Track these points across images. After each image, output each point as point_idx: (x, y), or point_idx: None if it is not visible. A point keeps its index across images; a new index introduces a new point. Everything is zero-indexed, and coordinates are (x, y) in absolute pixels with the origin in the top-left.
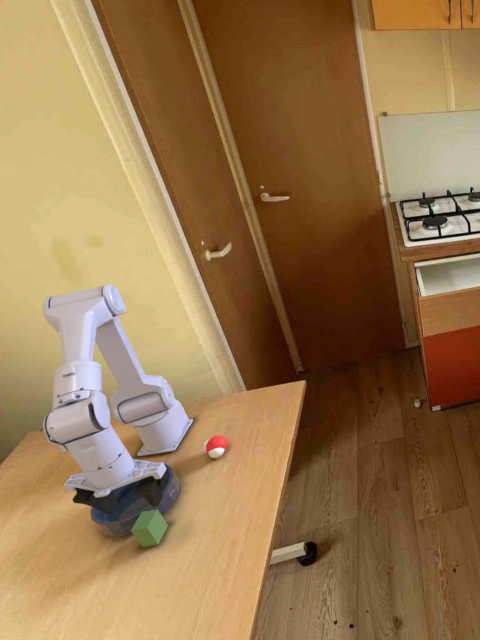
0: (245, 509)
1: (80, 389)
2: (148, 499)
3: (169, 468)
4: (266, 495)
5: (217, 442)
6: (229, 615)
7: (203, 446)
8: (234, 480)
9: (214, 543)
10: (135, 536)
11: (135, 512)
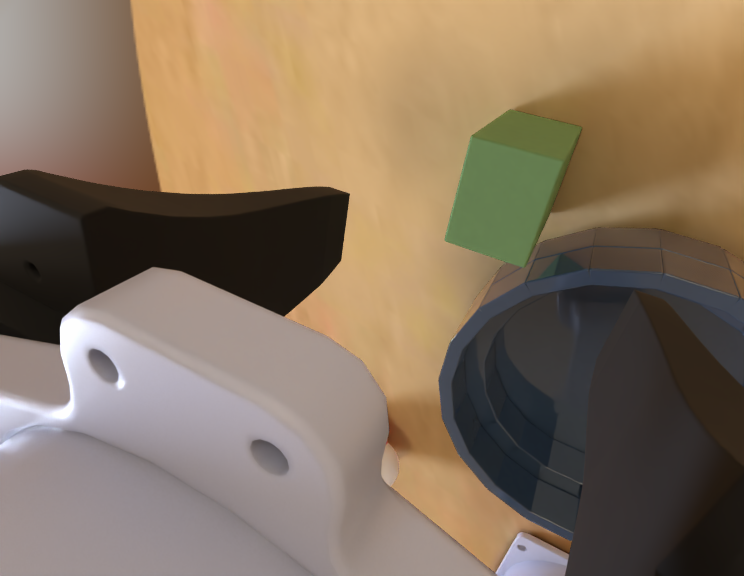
0: (224, 131)
1: None
2: (264, 202)
3: (465, 454)
4: (179, 159)
5: None
6: None
7: (384, 475)
8: None
9: (284, 10)
10: (568, 146)
11: None
